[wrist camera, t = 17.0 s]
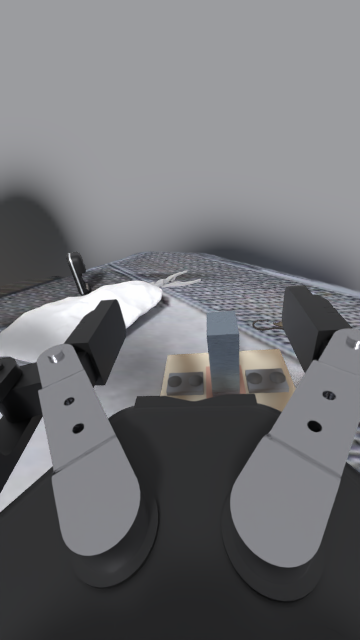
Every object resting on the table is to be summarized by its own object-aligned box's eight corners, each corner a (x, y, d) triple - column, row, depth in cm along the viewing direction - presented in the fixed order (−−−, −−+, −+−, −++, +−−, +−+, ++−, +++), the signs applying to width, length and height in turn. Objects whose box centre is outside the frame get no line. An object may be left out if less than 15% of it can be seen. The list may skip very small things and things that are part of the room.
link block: (212, 397, 33) (206, 335, 28) (212, 370, 37) (206, 312, 32) (239, 396, 32) (238, 333, 27) (236, 369, 37) (234, 310, 31)
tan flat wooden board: (156, 437, 31) (152, 424, 30) (169, 361, 43) (166, 350, 42) (309, 436, 28) (313, 422, 27) (278, 356, 40) (279, 343, 39)
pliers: (201, 276, 70) (151, 292, 66) (201, 282, 71) (152, 297, 67) (185, 267, 78) (140, 281, 74) (186, 272, 79) (141, 285, 75)
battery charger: (93, 292, 74) (80, 254, 68) (80, 296, 73) (65, 258, 67) (91, 285, 80) (79, 249, 74) (79, 288, 79) (66, 252, 73)
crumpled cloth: (-2, 335, 56) (-25, 302, 51) (138, 284, 70) (132, 254, 64) (7, 414, 41) (-25, 379, 35) (185, 328, 55) (183, 293, 49)
